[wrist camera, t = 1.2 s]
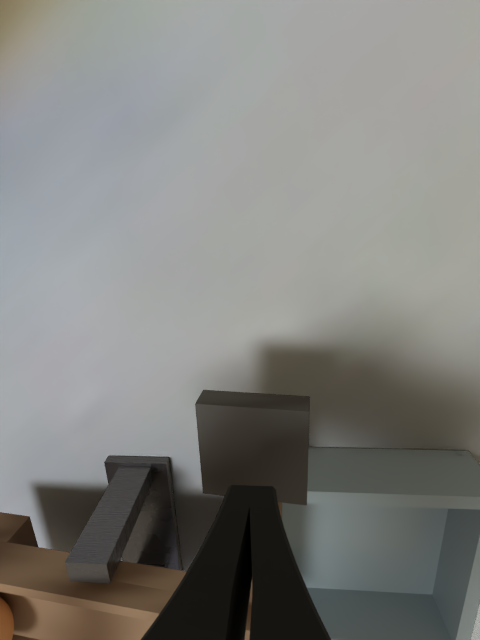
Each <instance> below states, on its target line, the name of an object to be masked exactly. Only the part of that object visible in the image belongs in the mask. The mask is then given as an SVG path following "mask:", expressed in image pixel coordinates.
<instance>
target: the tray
mask: <svg viewBox="0 0 480 640" xmlns="http://www.w3.org/2000/svg"><path fill="white" fill-rule="evenodd" d="M282 522H283V525H284V529H285V532H286V535H287V538H288V541H289V544H290V546H291V549H292V552H293V555H294V558H295V560H296V563H297V565H298V568H299V570H300V573H301V575H302V578H303V580H304V582H305V585H306V587H307V590H308V592H309V594H310V596H311V599H312V601H313V603H314V605H315V607H316V609H317V612H318V614H319V616H320V618H321V620H322V622H323V624H324V626H325V628H326V630H327V632H328V634H329V636H330V638H331V640H471V636H472V632H473V628H474V624H475V620H476V616H477V611H478V607H479V603H480V465H479V464H478V463H477V461H476V460H475V459H474V457H473V456H472V455H471V454H470V452H469V451H458V450H412V449H366V448H319V447H309V449H308V486H307V505H298V504H290V503H282Z"/></svg>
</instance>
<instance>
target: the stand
mask: <svg viewBox="0 0 480 640" xmlns="http://www.w3.org/2000/svg"><path fill="white" fill-rule="evenodd" d="M104 463H105V468H106V473H107V479H108V484H109V486H108V487H107V489H106V491H105V493H104V494H103V496H102V498H101V500H100V501H99V503H98V505H97V507H96V508H95V510H94V512H93V514H92V515H91V517H90V519H89V521H88V522H87V524H86V526H85V528H84V529H83V531H82V533H81V535H80V536H79V538H78V540H77V542H76V543H75V545H74V547H73V549H72V550H71V552H70V554H69V556H68V557H67V559H66V561H65V565H66V569H67V573H68V577H69V581H77V582H94V583H111V581H112V578H113V576H114V574H115V571H116V569H117V567H118V564H119V562H120V559H121V557H122V558H123V561H125V562H131V563H137V564H144V565H150V566H156V567H162V568H168V569H174V570H180V571H182V563H181V555H180V546H179V538H178V530H177V521H176V513H175V505H174V496H173V488H172V479H171V471H170V463H169V457H134V456H108V457H107V459H106V461H105V462H104Z"/></svg>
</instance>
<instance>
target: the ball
mask: <svg viewBox="0 0 480 640" xmlns="http://www.w3.org/2000/svg"><path fill="white" fill-rule="evenodd" d="M13 631H14V619H13V614H12V611H11V609H10V607H9V605H8V604H7V603H6V602H5V601H4V600H3V599H2V598H1V597H0V640H12V637H13Z"/></svg>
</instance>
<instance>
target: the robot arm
mask: <svg viewBox="0 0 480 640" xmlns="http://www.w3.org/2000/svg"><path fill="white" fill-rule="evenodd" d="M251 582H252V607H251V623H250V639H249V640H331V638H330V636H329V634H328V632H327V630H326V628H325V626H324V624H323V622H322V620H321V618H320V616H319V614H318V612H317V609H316V607H315V605H314V603H313V601H312V599H311V596H310V594H309V592H308V590H307V587H306V585H305V582H304V580H303V578H302V575H301V573H300V570H299V568H298V565H297V563H296V560H295V558H294V555H293V552H292V549H291V546H290V544H289V541H288V538H287V535H286V532H285V529H284V525H283V522H282V518H281V515H280V510H279V506H278V501H277V494H276V489H275V488H274V487H273V486H249V485H231V486H229V487H228V489H227V492H226V495H225V497H224V500H223V503H222V505H221V507H220V510H219V512H218V514H217V516H216V518H215V521H214V523H213V525H212V527H211V529H210V531H209V533H208V535H207V536H206V538H205V540H204V542H203V544H202V546H201V548H200V550H199V552H198V553H197V555H196V557H195V559H194V560H193V562H192V564H191V565H190V567H189V569H188V570H187V572H186V574H185V576H184V577H183V579H182V581H181V582H180V584H179V585H178V587H177V588H176V590H175V592H174V593H173V595H172V596H171V598H170V599H169V601H168V602H167V604H166V605H165V607H164V608H163V609H162V611H161V612H160V614H159V615H158V617H157V618H156V619H155V621H154V622H153V624H152V625H151V626H150V628H149V629H148V630H147V632H146V633H145V634H144V636H143V637H142V638H141V640H245V632H246V624H247V616H248V607H249V599H250V591H251Z"/></svg>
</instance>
